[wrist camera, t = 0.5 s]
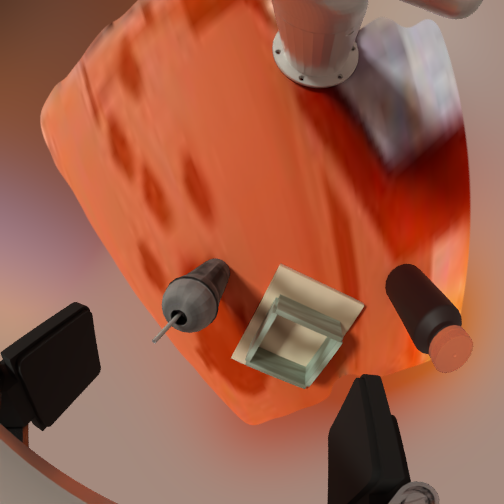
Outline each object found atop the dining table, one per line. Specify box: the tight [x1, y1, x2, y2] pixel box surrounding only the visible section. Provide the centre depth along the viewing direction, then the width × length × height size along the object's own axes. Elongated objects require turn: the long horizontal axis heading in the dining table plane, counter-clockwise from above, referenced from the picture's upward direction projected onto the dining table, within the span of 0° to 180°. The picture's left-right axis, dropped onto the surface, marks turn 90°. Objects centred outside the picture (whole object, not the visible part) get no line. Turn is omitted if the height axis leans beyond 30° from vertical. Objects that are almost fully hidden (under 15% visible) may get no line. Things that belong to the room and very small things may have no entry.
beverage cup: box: [152, 259, 230, 343], centre depth 37 cm, size 7×7×20 cm
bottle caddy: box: [231, 263, 364, 389], centre depth 44 cm, size 20×15×6 cm
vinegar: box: [385, 264, 473, 373], centre depth 32 cm, size 7×7×20 cm
